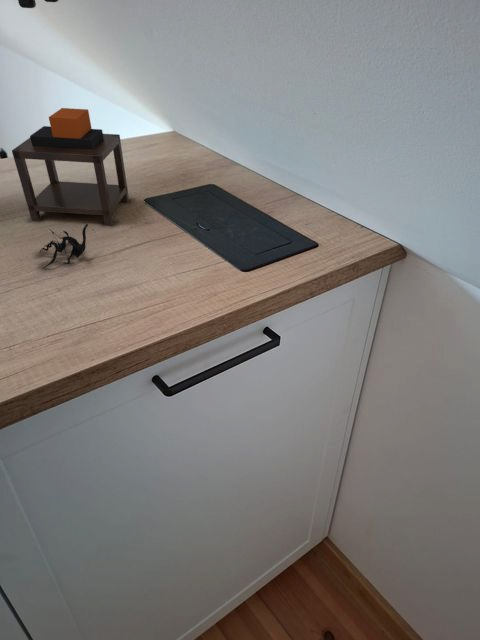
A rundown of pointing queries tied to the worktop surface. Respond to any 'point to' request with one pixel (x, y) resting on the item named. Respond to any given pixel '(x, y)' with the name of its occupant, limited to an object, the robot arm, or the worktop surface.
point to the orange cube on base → (68, 130)
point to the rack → (73, 193)
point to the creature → (76, 248)
